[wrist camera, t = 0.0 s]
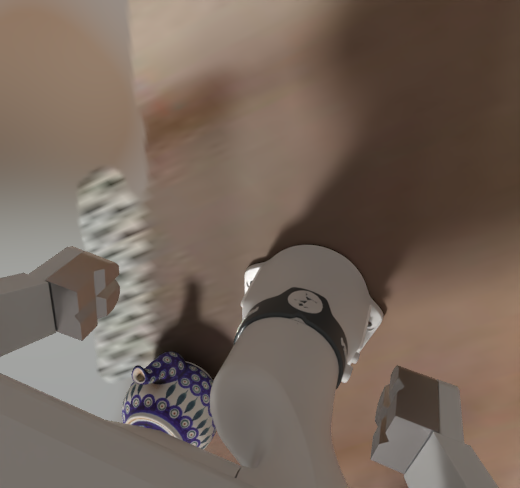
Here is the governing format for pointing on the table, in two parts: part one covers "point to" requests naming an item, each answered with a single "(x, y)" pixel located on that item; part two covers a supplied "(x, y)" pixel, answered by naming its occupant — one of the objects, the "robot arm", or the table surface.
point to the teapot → (171, 399)
